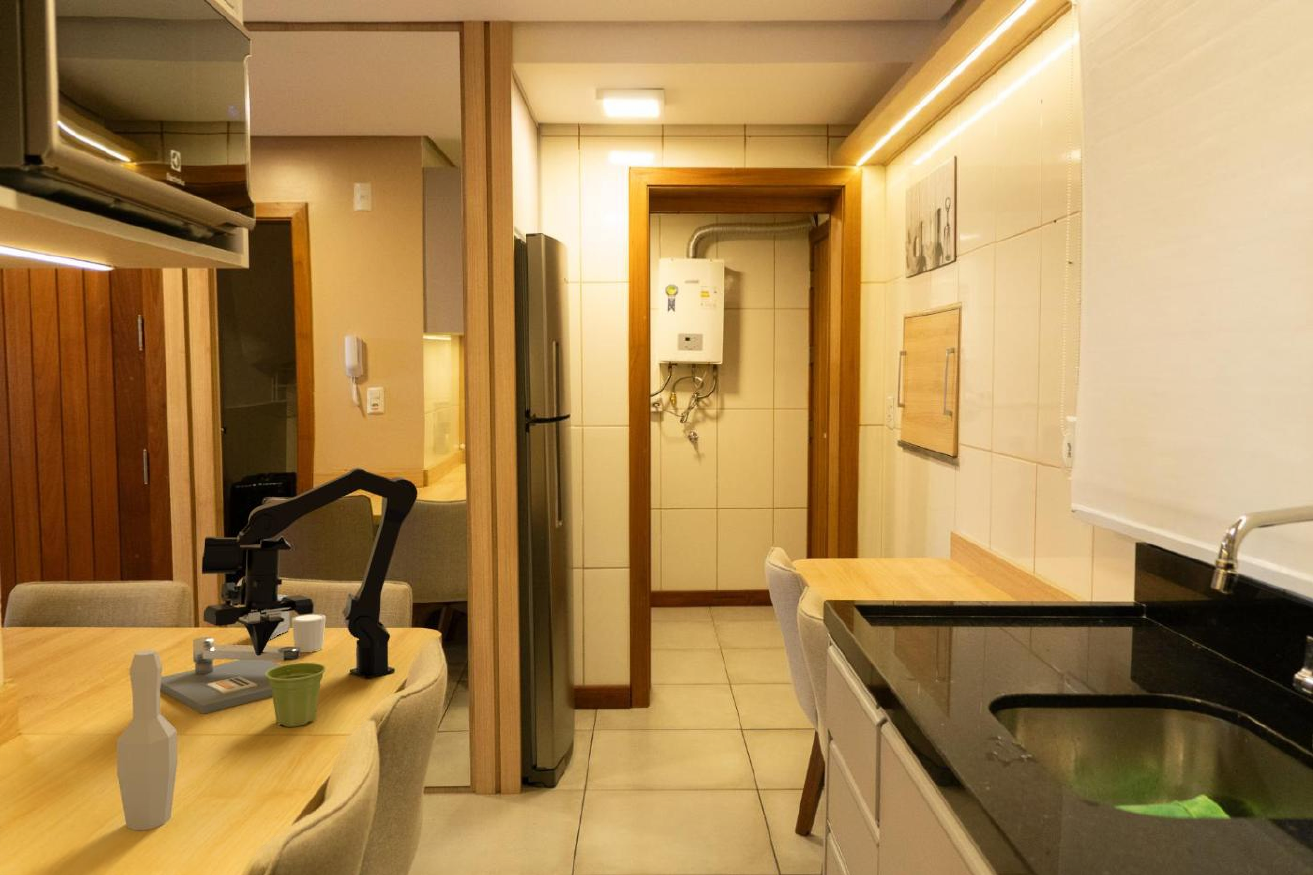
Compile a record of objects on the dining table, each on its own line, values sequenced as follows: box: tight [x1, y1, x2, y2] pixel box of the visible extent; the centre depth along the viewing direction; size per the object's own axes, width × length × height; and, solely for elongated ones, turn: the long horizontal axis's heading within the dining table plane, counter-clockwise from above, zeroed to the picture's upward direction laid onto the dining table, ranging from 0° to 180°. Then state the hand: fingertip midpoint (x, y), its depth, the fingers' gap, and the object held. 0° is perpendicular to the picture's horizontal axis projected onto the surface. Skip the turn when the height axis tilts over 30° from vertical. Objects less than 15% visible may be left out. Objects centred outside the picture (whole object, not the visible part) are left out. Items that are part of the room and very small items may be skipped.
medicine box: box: [252, 594, 291, 640], centre depth 202 cm, size 8×4×9 cm, turn 172°
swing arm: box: [192, 636, 301, 663], centre depth 169 cm, size 21×4×4 cm, turn 86°
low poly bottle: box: [116, 649, 178, 831], centre depth 112 cm, size 6×6×22 cm
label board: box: [160, 660, 282, 715], centre depth 166 cm, size 22×20×4 cm
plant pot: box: [265, 662, 326, 728], centre depth 148 cm, size 9×9×9 cm
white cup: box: [291, 613, 326, 653], centre depth 191 cm, size 7×7×7 cm
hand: (258, 655), depth 166 cm, fingers closed
